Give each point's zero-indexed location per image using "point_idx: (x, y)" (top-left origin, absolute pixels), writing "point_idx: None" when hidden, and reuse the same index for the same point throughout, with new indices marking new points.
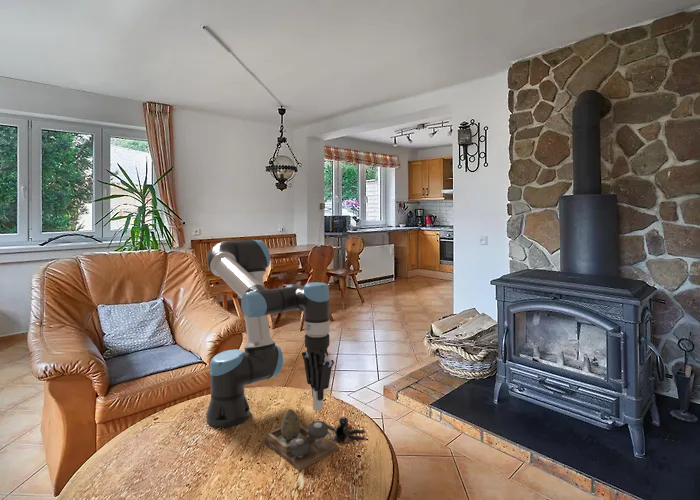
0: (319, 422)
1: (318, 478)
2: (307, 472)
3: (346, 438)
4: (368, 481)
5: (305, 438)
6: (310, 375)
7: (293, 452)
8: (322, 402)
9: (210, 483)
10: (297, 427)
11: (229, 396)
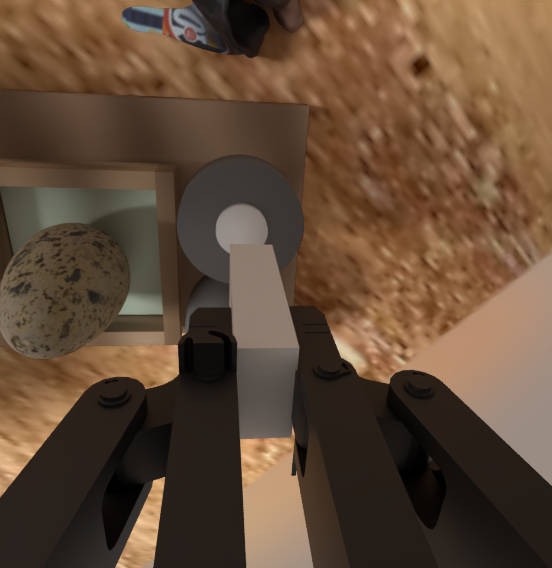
0: (210, 190)
1: (375, 301)
2: (318, 308)
3: (290, 10)
4: (546, 180)
5: (225, 286)
6: (104, 546)
7: None
8: (276, 268)
9: (135, 524)
10: (119, 276)
11: None
